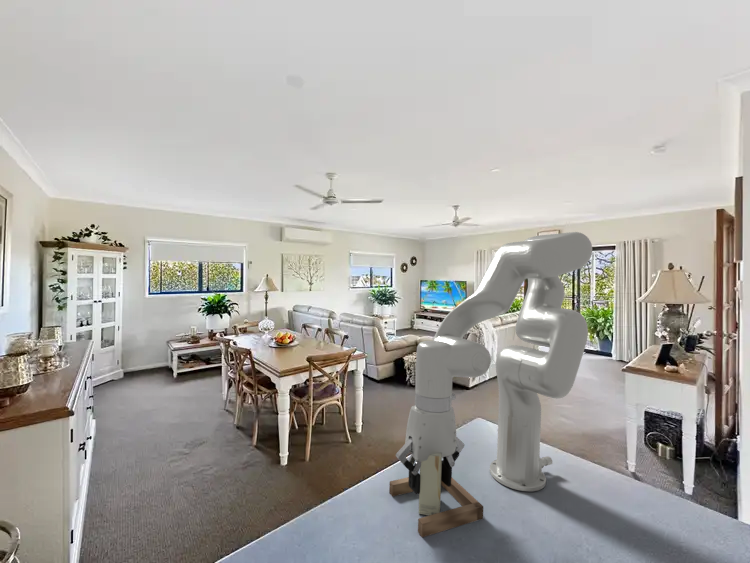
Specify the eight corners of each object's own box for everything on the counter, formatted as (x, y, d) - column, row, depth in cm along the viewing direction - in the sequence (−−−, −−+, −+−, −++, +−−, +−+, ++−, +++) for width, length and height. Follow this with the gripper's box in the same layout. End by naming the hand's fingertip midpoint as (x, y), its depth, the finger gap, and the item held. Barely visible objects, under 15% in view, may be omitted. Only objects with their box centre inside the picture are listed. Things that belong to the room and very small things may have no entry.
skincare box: (439, 518, 68) (442, 457, 68) (417, 514, 69) (419, 454, 69) (440, 498, 75) (442, 442, 74) (420, 495, 75) (422, 439, 75)
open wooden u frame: (442, 479, 81) (443, 469, 81) (483, 518, 68) (483, 506, 68) (389, 492, 76) (389, 481, 76) (422, 537, 63) (422, 524, 63)
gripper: (456, 391, 78) (453, 469, 79) (387, 399, 72) (384, 485, 72) (478, 403, 71) (475, 488, 72) (404, 413, 65) (401, 507, 65)
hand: (430, 485), depth 72 cm, fingers closed on skincare box, 6 cm apart
